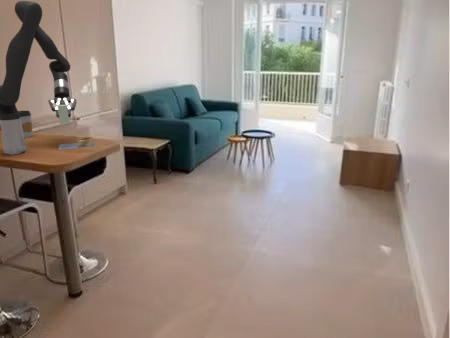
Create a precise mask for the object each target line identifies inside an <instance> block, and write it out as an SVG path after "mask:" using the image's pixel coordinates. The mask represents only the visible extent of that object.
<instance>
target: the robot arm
mask: <svg viewBox="0 0 450 338" xmlns="http://www.w3.org/2000/svg"><path fill="white" fill-rule="evenodd" d="M14 13H15V15H16V17H17V18H18V19H19V20H20V21H21V23H22V24H21V27H20V28H19V30H18V32H17V33H16V34H15V35H14V36H13V38H12V39H11V40H10V42H9V44H8V47H7V50H6V55H5V76H4V79H3V82H2V84H1V85H0V130H1V134H0V139H1V144H2V149H3V154H6V155H11V156H12V155H18V154H19V155H20V154H25V153H26V151H27V147H26V141H25V138H24V134H23V128H22V123H21V117H20V113H19V111H20V110H18V109H17V106H16V105H17V102H18V101H19V98H20V96H21V95H20V94H21V87H22V80H23V78H24V77H23V76H24V74H25V71H26V69H27V64H28V61H29V57H30V54H31V50H32V46H33V42H34V39H35V41H36V42H37V44H38V45H39V46H40V48H41V50H42V52H43V54H44V56H45V57H46V58H47V60H52V61H50V62H49V65H48V67H49V70H50V72H51V75H52V77H53V100H51V99H48V101H47V102H48V104H49V107H50V109H51V111H52V112H55V116H56V117H57V118H58V119H59V114H58V107H57V106H58V105H67V106H68V116H69V118H71V117H72V111H75V109H76V106H77V99H76V98H73V99H72V98H71V95H70V85H69V78H68V75H67V72H69V71H70V70H71V64H70V62H69V61H68V59H67V58H66V57H65V56H64V55H63V54H62V53H61V52H60V51H59V50H58V47H57V46H56V44H55V42H54V41H53V39H52V38H51V37H50V36H49V35H48V34H47V33H46V32H45V31H44V29H42V27H41V26H40V23H41V22H42V21H41V20H42V18H43V9H42V7H41V5H40V4H39V3H38V2H35V1H30V0H29V1H27V0H20V1H17V2H15V4H14ZM54 103H55V105H56V106H54ZM71 103H72V104H71ZM70 104H71V106H70Z"/></svg>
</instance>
